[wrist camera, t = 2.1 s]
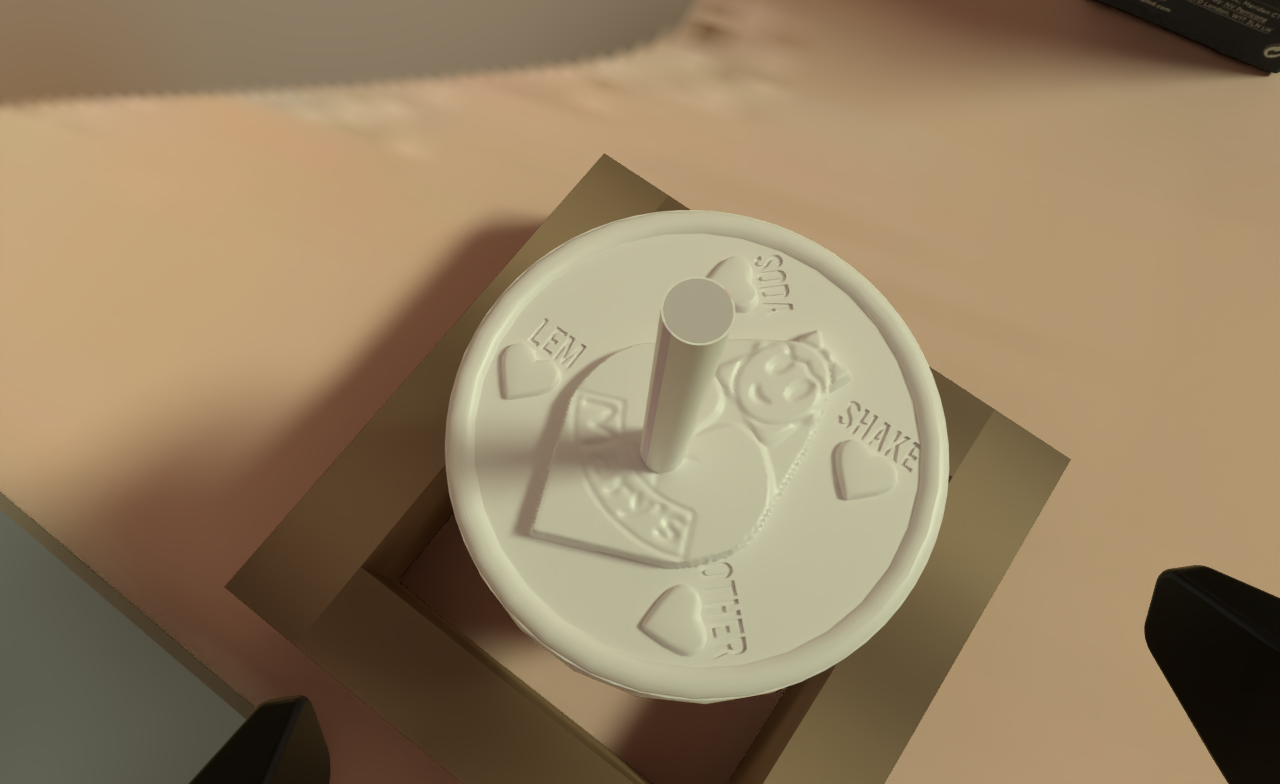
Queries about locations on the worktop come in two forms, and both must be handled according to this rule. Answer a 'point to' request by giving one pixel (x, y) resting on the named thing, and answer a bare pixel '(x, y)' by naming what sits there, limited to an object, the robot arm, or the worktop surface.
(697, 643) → the smoothie
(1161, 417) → the worktop surface
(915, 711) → the holder
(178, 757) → the coaster
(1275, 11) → the small box
